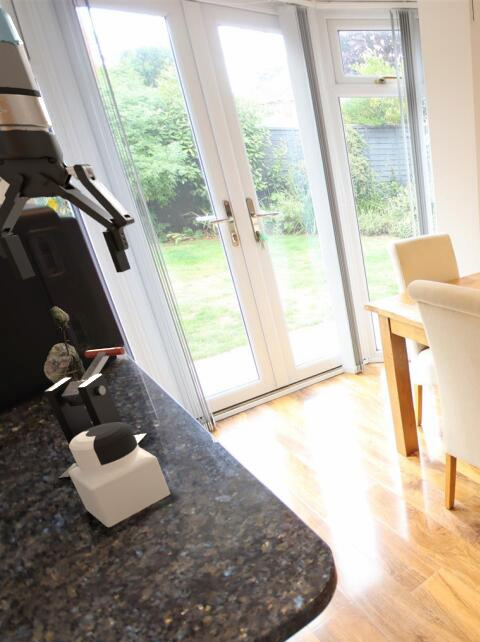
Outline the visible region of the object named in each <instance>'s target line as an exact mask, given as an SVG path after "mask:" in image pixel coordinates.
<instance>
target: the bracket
mask: <svg viewBox="0 0 480 642" xmlns="http://www.w3.org/2000/svg"><path fill="white" fill-rule="evenodd" d="M70 382H74V381H73V379H72V377H71V378H64V379H62V380H61V381H59V382H58V383H56V384H55V383H54V384H53V385H52V386H50V387H49V388H47V389H45V390H44V391H43V393H44V395H45V397H46V399H47V400H48V404H49V406H50V408H51V410H52V412H53V414H54V416H55V418H56V421H57V422H58V425H59V427H60V429H61V431H62V433H63V436H64V438H65V440H66V442H67V444H68V445H69V444H70V442H71V441H72V439H73V438H74V437H76V436H77V435H79V434H80V433H82V432H83V431H85V430H87V429H89V428H92V427H95V426H98V425H101V424H106V423H113V422H123V420H122V418H121V415H120V413H119V410H118V407H117V406H116V403H115V401H114V398H113V396H112V393H111V391H110V389H109V386H108V384H107V381H106V379H105V376H104V374H103V373H99V374H97V375H94V376H93V377H91V378H90V379H89V380H87V381H86V382H84V383H83V384H82V385H80V386H79V387H77V389H78V391H79V393H80V396H81V398H82V400H83V402H84V405H85V406H84V405H80V406H70V405H69V404H68V403H67V402H66V401H65V399H64V398H63V397H62V396H61V395H62V394H63V392H64V391H65V389H66V388H67V386H68V385H69V383H70ZM85 407H86V408H85ZM147 435H148V433H140V434H134V436H135V438H136V441H137V443H138V445H140V443H141V442H142V441H143V440H144V439H145V438H146V437H147ZM76 467H78V465H77V463H76V461H75V462H73V464H72V465H70V466H69V467H68V468H67V469H66V470H65V471H64V472H63V473H62V474H61V475H60V476H58V478H57V479H58V480H64V479H71V477H70V475H69V471H70V470H71V469H74V468H76Z"/></svg>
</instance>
